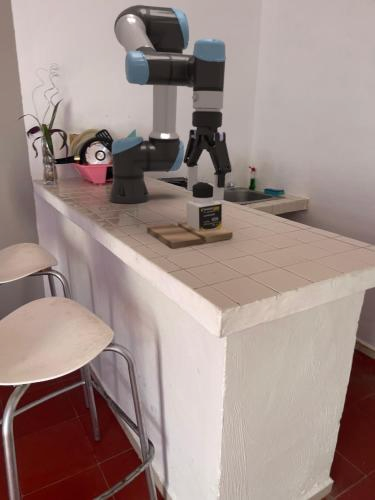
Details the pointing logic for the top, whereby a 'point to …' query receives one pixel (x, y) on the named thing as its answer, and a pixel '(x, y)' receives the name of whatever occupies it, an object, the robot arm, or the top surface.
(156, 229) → the laid board
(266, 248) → the top surface
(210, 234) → the plank
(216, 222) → the medicine bottle
